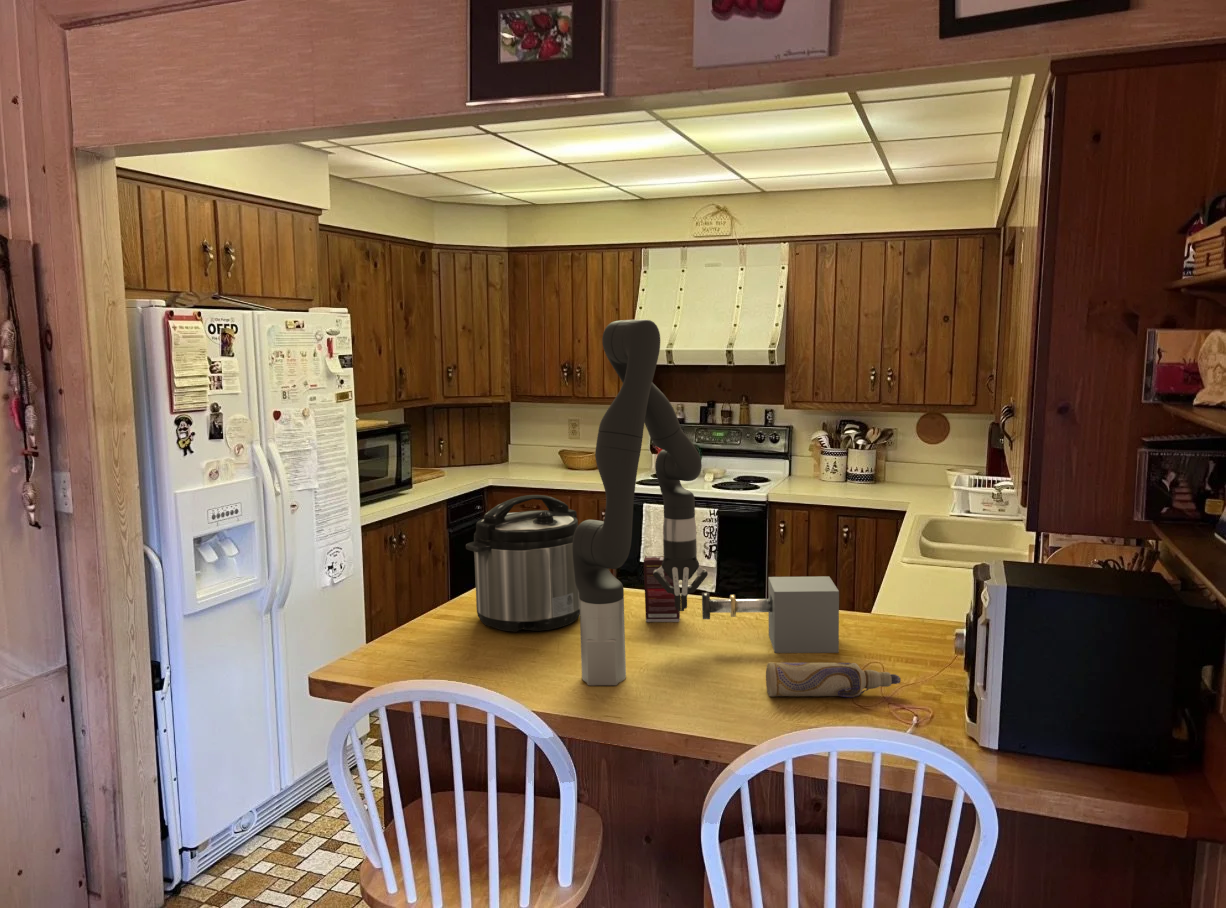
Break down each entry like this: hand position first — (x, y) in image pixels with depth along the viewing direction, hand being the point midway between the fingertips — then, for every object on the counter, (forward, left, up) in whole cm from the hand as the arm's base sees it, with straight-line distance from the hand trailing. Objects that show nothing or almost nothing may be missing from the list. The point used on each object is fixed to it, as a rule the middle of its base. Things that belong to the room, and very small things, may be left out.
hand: (681, 610), depth 204 cm
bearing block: (0, -27, -8) cm, 29 cm away
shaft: (0, -15, -2) cm, 15 cm away
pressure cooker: (+20, +39, -8) cm, 44 cm away
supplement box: (+18, +5, -8) cm, 20 cm away
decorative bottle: (-30, -28, -8) cm, 42 cm away
